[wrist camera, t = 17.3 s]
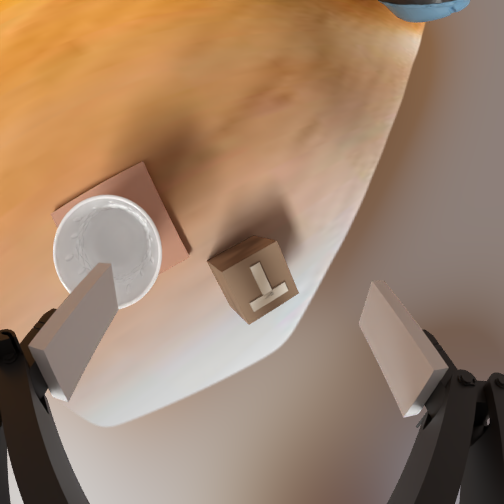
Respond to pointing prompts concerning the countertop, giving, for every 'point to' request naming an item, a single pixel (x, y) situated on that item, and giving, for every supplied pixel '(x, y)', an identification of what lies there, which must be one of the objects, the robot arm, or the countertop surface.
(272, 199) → the countertop surface
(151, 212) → the coaster
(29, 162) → the countertop surface
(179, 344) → the countertop surface
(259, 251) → the letter block
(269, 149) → the countertop surface
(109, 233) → the white cup
